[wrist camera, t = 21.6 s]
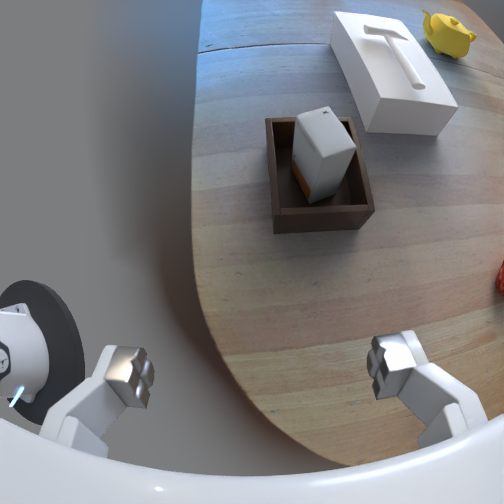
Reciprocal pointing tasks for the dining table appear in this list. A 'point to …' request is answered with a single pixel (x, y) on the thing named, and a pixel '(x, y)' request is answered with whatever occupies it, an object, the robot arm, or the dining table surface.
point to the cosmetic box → (320, 153)
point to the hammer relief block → (390, 76)
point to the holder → (293, 198)
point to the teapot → (447, 35)
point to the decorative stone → (500, 280)
